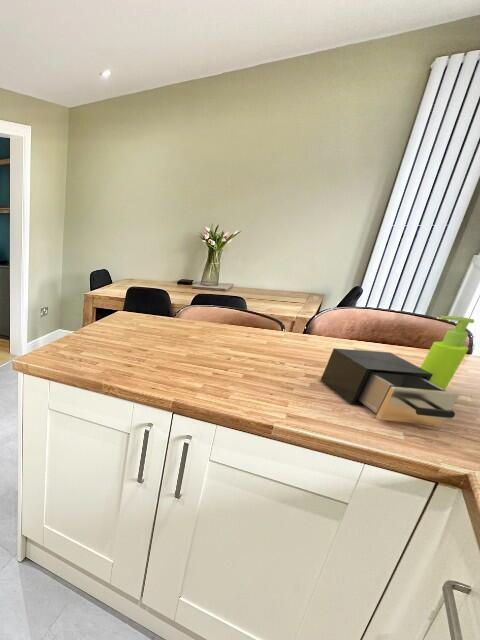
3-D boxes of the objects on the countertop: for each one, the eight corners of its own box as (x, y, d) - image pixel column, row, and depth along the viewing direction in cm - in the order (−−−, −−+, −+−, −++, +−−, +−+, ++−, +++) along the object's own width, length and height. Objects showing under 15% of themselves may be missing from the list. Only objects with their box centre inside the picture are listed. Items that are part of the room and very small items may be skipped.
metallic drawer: (460, 438, 83) (480, 405, 79) (393, 430, 85) (410, 398, 82) (399, 398, 99) (413, 370, 96) (344, 393, 102) (357, 365, 98)
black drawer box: (413, 410, 95) (433, 374, 91) (350, 404, 98) (367, 368, 94) (374, 385, 108) (390, 352, 104) (320, 380, 111) (333, 348, 107)
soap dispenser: (403, 384, 109) (440, 312, 100) (440, 392, 104) (483, 318, 96) (403, 391, 105) (442, 317, 96) (442, 399, 100) (486, 323, 92)
